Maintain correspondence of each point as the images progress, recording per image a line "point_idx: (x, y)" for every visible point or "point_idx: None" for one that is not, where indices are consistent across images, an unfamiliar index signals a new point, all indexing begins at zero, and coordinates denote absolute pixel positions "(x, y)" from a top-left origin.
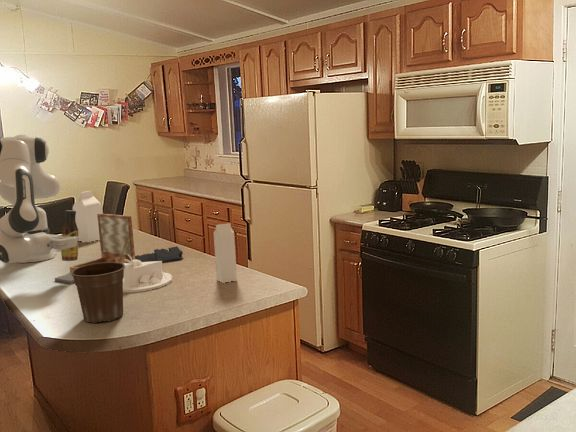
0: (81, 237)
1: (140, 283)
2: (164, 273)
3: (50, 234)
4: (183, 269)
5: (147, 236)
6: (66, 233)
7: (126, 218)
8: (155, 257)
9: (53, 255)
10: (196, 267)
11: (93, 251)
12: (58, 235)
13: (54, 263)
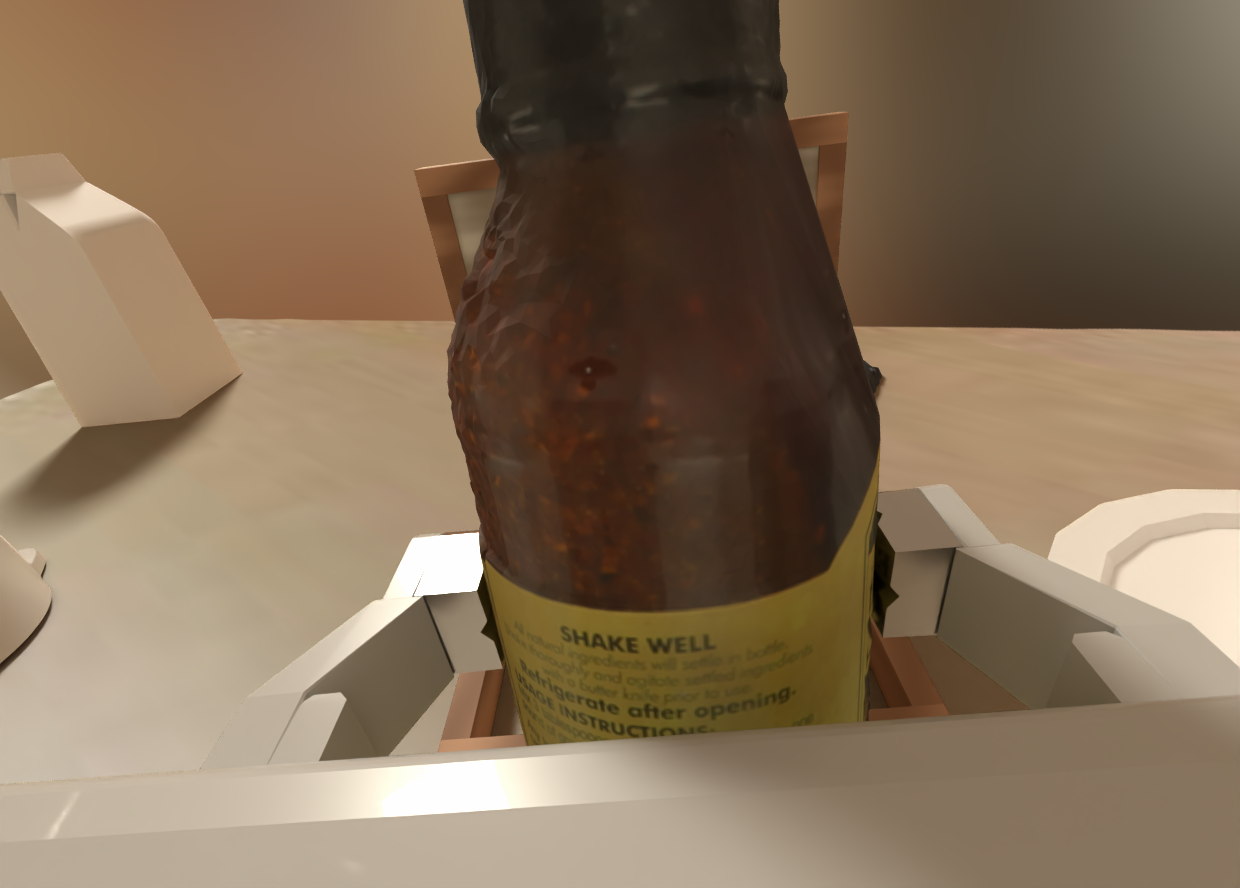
0: (121, 402)
1: None
2: (1237, 500)
3: (118, 849)
4: (1106, 424)
5: (411, 325)
6: (791, 547)
7: (806, 141)
8: None
9: (39, 594)
10: (1103, 391)
11: (289, 460)
12: (708, 821)
13: (114, 686)
